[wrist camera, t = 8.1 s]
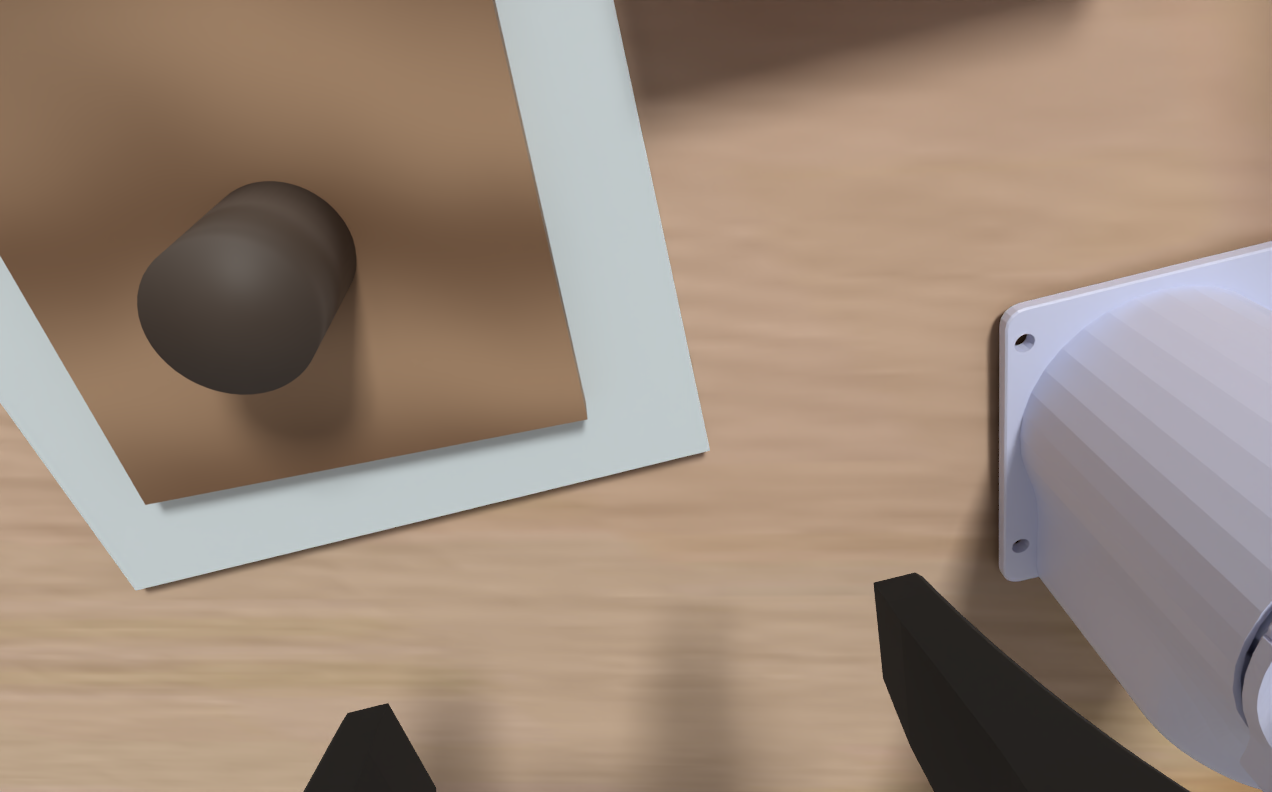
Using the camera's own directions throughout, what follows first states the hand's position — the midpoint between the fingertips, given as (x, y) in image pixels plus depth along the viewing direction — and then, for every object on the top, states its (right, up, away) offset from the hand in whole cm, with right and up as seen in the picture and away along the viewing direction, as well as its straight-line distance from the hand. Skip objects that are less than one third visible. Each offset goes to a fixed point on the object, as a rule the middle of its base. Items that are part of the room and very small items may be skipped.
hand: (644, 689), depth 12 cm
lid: (-8, +8, +6) cm, 13 cm away
